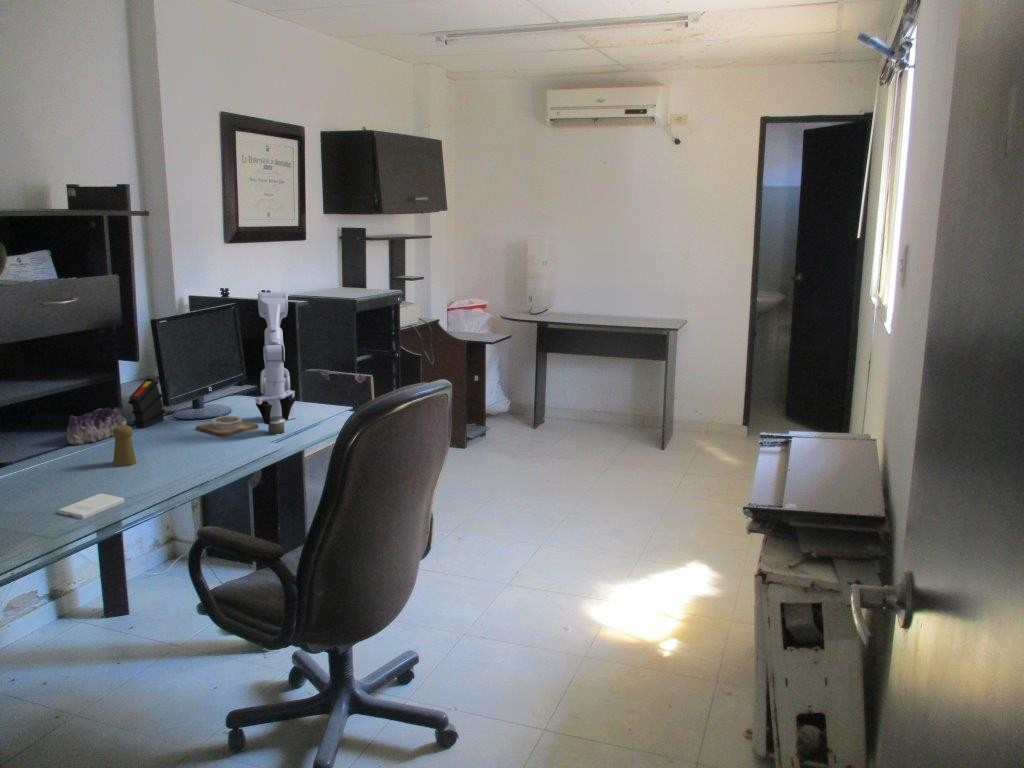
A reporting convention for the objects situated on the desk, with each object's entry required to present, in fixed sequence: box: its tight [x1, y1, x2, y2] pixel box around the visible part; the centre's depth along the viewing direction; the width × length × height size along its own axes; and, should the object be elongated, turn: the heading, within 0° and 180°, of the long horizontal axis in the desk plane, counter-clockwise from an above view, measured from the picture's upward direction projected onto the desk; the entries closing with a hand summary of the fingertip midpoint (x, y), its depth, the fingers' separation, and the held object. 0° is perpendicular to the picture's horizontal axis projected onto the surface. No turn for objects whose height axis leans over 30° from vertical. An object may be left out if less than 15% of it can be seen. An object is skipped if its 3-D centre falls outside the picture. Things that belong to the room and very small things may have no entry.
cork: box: [112, 424, 137, 468], centre depth 234 cm, size 6×6×11 cm
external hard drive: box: [57, 493, 125, 520], centre depth 202 cm, size 2×8×12 cm
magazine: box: [127, 378, 166, 429], centre depth 273 cm, size 4×13×15 cm, turn 168°
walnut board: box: [195, 420, 259, 438], centre depth 273 cm, size 14×14×1 cm
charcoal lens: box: [268, 416, 285, 436], centre depth 269 cm, size 5×5×5 cm
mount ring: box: [211, 415, 243, 430], centre depth 273 cm, size 9×9×2 cm
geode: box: [66, 406, 128, 447], centre depth 258 cm, size 20×12×10 cm, turn 167°
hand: (276, 421), depth 269 cm, fingers open, 7 cm apart
